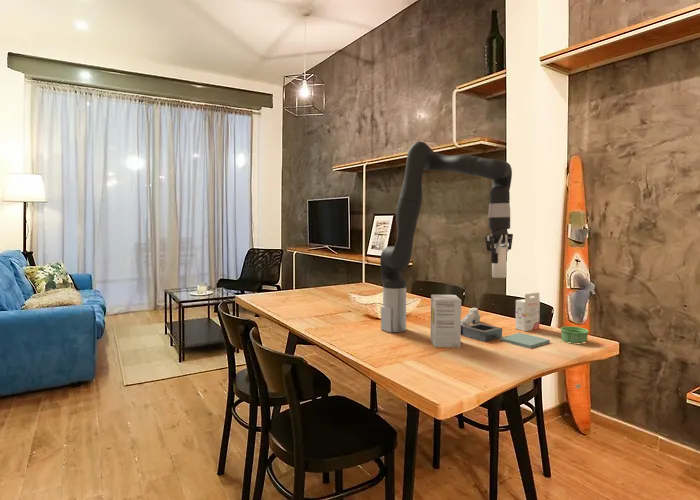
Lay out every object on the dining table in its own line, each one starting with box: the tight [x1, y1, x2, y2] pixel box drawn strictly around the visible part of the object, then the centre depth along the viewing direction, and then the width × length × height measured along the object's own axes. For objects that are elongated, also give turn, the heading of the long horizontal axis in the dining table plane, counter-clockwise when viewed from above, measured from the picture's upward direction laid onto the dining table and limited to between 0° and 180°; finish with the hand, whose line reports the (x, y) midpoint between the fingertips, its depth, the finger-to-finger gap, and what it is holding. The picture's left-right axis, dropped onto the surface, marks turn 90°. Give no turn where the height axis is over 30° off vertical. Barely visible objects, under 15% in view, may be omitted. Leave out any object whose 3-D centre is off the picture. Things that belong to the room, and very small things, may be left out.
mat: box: [499, 332, 551, 349], centre depth 157 cm, size 12×12×1 cm
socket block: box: [462, 322, 503, 343], centre depth 163 cm, size 10×10×4 cm
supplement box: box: [430, 294, 462, 348], centre depth 154 cm, size 10×9×17 cm
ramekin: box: [560, 325, 589, 344], centre depth 157 cm, size 9×9×4 cm
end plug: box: [491, 246, 507, 279], centre depth 160 cm, size 5×5×11 cm
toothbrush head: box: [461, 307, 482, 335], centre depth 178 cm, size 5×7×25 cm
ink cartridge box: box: [515, 292, 541, 332], centre depth 174 cm, size 9×5×15 cm, turn 117°
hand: (499, 262), depth 160 cm, fingers closed on end plug, 5 cm apart
